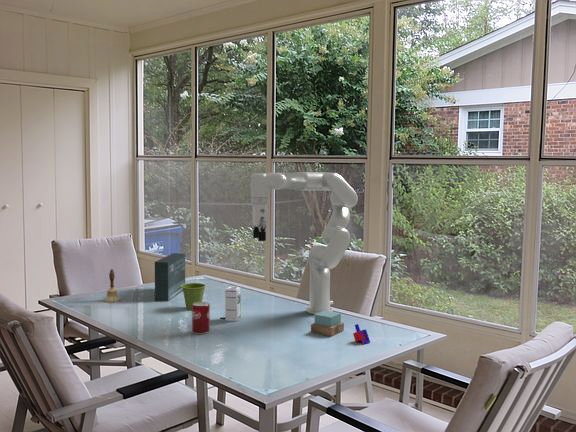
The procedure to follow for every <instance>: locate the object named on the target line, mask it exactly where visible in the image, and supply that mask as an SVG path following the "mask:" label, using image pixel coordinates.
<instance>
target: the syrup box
mask: <svg viewBox="0 0 576 432" xmlns="http://www.w3.org/2000/svg"><path fill="white" fill-rule="evenodd" d="M241 296H242V295H241V286H228V287H226V288H225V289H224V310H225V312H224V313H225V314H224V316H225V321H229V322H238V321H239V320H241V318H242V303H241V302H242V298H241Z"/></svg>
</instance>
